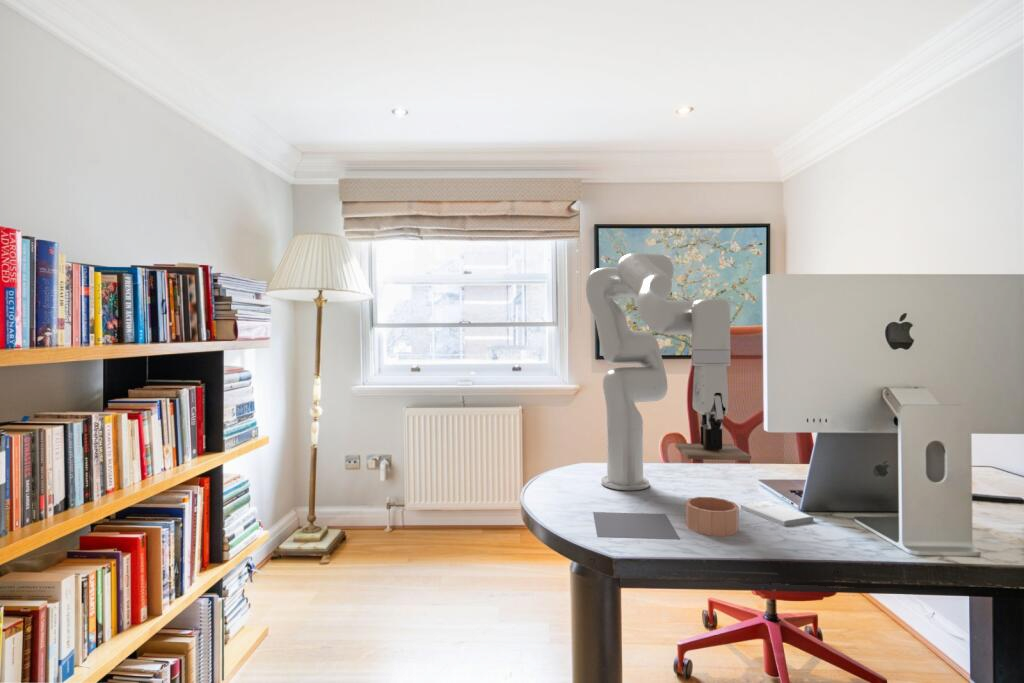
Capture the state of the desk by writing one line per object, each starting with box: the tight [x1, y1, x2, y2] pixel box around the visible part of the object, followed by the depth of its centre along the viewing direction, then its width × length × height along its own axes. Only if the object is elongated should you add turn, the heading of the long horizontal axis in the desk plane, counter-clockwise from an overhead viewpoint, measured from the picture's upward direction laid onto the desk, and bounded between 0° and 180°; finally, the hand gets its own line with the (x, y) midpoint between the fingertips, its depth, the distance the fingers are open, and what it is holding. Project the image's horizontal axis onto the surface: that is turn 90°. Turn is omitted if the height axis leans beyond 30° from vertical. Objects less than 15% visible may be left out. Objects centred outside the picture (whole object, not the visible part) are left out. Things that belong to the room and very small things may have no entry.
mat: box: [592, 511, 681, 540], centre depth 111 cm, size 15×16×1 cm
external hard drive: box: [740, 500, 814, 527], centre depth 118 cm, size 2×8×12 cm
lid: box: [675, 424, 752, 461], centre depth 110 cm, size 12×12×6 cm
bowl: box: [685, 496, 740, 537], centre depth 110 cm, size 10×10×5 cm
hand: (711, 446), depth 110 cm, fingers closed on lid, 3 cm apart
